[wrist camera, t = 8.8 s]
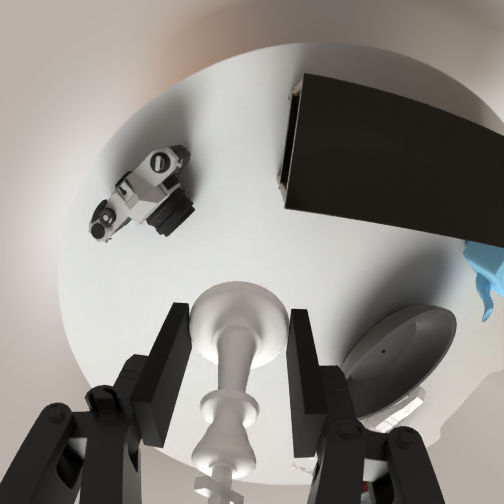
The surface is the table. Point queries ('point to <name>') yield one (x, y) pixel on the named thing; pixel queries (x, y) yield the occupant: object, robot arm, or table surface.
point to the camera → (146, 196)
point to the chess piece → (232, 377)
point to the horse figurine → (386, 417)
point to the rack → (391, 162)
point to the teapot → (486, 271)
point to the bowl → (397, 356)
